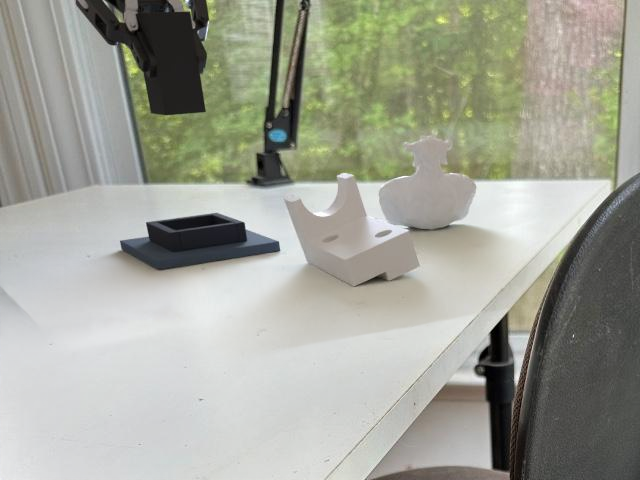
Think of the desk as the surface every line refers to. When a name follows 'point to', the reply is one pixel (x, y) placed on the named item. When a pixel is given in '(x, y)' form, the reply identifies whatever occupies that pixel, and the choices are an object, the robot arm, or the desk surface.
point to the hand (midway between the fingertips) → (176, 68)
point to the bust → (427, 189)
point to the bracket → (352, 238)
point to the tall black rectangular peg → (172, 64)
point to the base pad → (196, 241)
